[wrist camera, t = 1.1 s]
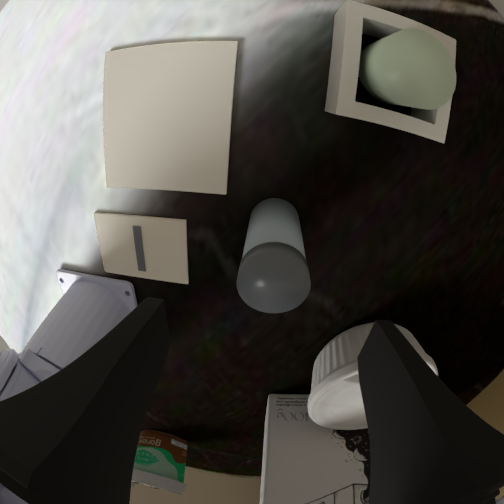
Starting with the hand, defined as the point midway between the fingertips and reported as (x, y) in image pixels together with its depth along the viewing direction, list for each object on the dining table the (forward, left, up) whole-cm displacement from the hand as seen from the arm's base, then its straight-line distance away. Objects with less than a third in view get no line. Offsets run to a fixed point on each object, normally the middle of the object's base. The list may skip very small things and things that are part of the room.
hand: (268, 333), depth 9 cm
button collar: (+10, -5, -9) cm, 15 cm away
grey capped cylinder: (0, 0, -9) cm, 9 cm away
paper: (+6, +7, -9) cm, 13 cm away
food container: (-39, +14, -10) cm, 43 cm away
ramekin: (-12, -10, -10) cm, 19 cm away
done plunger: (+10, -5, -8) cm, 14 cm away
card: (-3, +9, -9) cm, 13 cm away
